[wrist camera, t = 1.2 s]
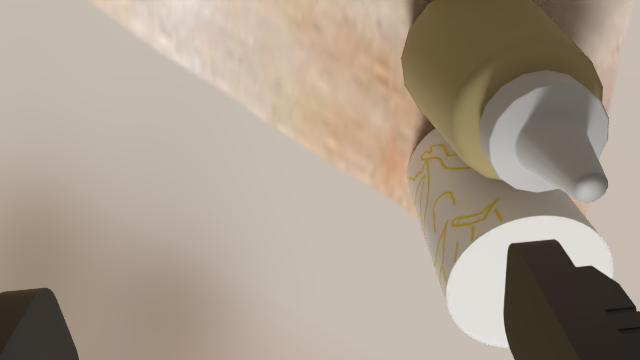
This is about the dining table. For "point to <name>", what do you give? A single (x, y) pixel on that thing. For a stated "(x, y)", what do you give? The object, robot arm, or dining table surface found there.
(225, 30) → the dining table surface
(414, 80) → the squeeze bottle
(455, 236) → the white cylinder
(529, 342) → the robot arm
